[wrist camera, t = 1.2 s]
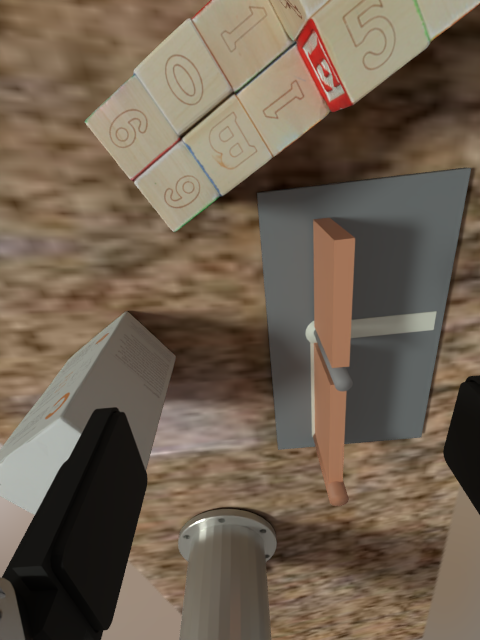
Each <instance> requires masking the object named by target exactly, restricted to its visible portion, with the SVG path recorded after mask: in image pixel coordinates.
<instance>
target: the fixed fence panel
mask: <svg viewBox="0 0 480 640" xmlns="http://www.w3.org/2000/svg"><path fill="white" fill-rule="evenodd" d="M314 397H315V434H314V435H313V439H314V443H315V447H316V451H317V454H318V458H319V462H320V466H321V470H322V474H323V477H324V481H325V485H326V489H327V493H328V496H329V500H330V503H331V504H332V505H334V506H342V505H344V504H346V503H347V502H348V500H349V498H348V495H347V492H346V489H345V486H344V482H343V460H344V437H345V413H346V391H343V392H342V391H338V390H337V389H336V388H335V385H334V383H333V380H332V378H331V375H330V373H329V370H328V368H327V365H326V363H325V360H324V358H323V356H322V353H321V351H320V348H319V346H318V343H314Z"/></svg>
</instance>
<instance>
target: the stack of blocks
mask: <svg viewBox="0 0 480 640" xmlns="http://www.w3.org/2000/svg"><path fill="white" fill-rule="evenodd" d="M479 4H480V0H210V1H209V2H208V3H207V4H206V5H205V6H204V7H203V8H202V9H201V10H200V11H199V12H198V13H197V14H196V15H195V16H194V17H193V18H192V19H187V20H186V21H184V22H183V23H182V24H181V25H180V26H179V27H178V28H177V29H176V30H175V31H174V32H173V33H172V34H170V35H169V36H168V37H167V38H166V39H165V40H164V41H163V42H162V43H161V44H160V45H159V46H158V47H157V48H156V49H155V50H154V51H153V52H152V53H151V54H149V55H148V56H147V57H146V58H145V59H144V60H143V61H142V62H141V63H140V64H139V65H138V66H137V67H136V68H135V69H134V75H133V76H132V77H131V78H130V79H128V80H127V81H126V82H125V83H124V84H123V85H122V86H121V87H120V88H119V89H118V90H117V91H115V92H114V93H113V94H112V95H111V96H110V97H109V98H108V99H107V100H106V101H105V102H104V103H103V104H102V105H101V106H100V107H99V108H98V109H96V110H95V111H94V112H93V113H92V114H91V115H90V116H89V117H88V118H87V119H86V121H85V123H86V124H87V126H88V127H89V128H90V130H91V131H92V132H93V133H94V135H95V136H96V137H97V138H98V140H99V141H100V142H101V143H102V145H103V146H104V147H105V148H106V150H107V151H108V152H109V153H110V155H111V156H112V157H113V158H114V160H115V161H116V162H117V164H118V165H119V166H120V167H121V169H122V170H123V171H124V172H125V174H126V175H127V176H128V178H129V179H131V180H132V181H134V183H135V184H136V186H137V187H138V188H139V190H140V191H141V192H142V194H143V195H144V196H145V197H146V199H147V200H148V201H149V203H150V204H151V205H152V206H153V208H154V209H155V210H156V211H157V212H158V213H159V215H160V216H161V218H162V219H163V220H164V221H165V222H166V224H167V225H168V226H169V228H170V229H171V230H172V231H173V232H176V231H177V230H179V229H180V228H181V227H183V226H184V225H185V224H186V223H188V222H189V221H190V220H192V219H193V218H194V217H195V216H197V215H198V214H199V213H201V212H202V211H203V210H205V209H206V208H207V207H208V206H210V205H211V204H212V203H213V202H214V201H216V200H217V199H218V198H219V197H221V196H224V195H225V194H226V193H228V192H229V191H231V190H232V189H233V188H234V187H236V186H237V185H238V184H240V183H241V182H242V181H243V180H245V179H246V178H247V177H249V176H250V175H251V174H252V173H254V172H255V171H256V170H258V169H259V168H260V167H262V166H263V165H264V164H266V163H267V162H268V161H269V160H270V159H272V158H273V157H274V156H276V155H277V154H279V153H280V152H282V151H283V150H284V149H285V148H287V147H288V146H289V145H291V144H292V143H293V142H295V141H296V140H297V139H298V138H300V137H301V136H302V135H303V134H304V133H306V132H307V131H308V130H310V129H311V128H312V127H313V126H315V125H316V124H317V123H318V122H320V121H321V120H322V119H323V118H325V117H326V116H327V115H328V113H329V112H331V111H332V112H336V111H338V110H340V109H344V108H346V107H349V106H352V105H354V104H355V103H356V102H358V101H359V100H360V99H362V98H363V97H364V96H365V95H367V94H368V93H369V92H371V91H372V90H373V89H374V88H376V87H377V86H378V85H380V84H381V83H382V82H384V81H385V80H386V79H387V78H389V77H390V76H391V75H393V74H394V73H395V72H396V71H398V70H399V69H400V68H401V67H403V66H404V65H405V64H406V63H408V62H409V61H410V60H412V59H413V58H414V57H416V56H417V55H418V54H420V53H421V52H422V51H423V50H425V49H426V48H427V47H428V46H429V44H430V43H431V41H432V40H434V39H435V38H436V37H438V36H439V35H440V34H442V33H443V32H444V31H446V30H447V29H448V28H449V27H451V26H452V25H453V24H455V23H456V22H457V21H459V20H460V19H461V18H463V17H464V16H465V15H467V14H468V13H469V12H470V11H472V10H473V9H474V8H476V7H477V6H478V5H479Z"/></svg>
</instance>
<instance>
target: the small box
mask: <svg viewBox="0 0 480 640" xmlns="http://www.w3.org/2000/svg"><path fill="white" fill-rule="evenodd" d="M175 360H176V356H175V355H174V354H173V353H172V352H171V351H170V350H169V349H168V348H167V347H165V346H164V345H163V344H162V343H161V342H160V341H159V340H158V339H157V338H156V337H155V336H154V335H153V334H151V333H150V332H149V331H148V330H147V329H146V328H145V327H144V326H143V325H142V324H141V323H140V322H139V321H138V320H136V319H135V318H134V317H133V316H132V315H131V314H130V313H129V312H127V311H126V312H125V313H123V314H122V315H121V316H120V317H118V318H117V319H116V320H115V321H113V322H112V323H111V324H110V325H109V326H107V327H106V328H105V329H104V330H103V331H101V332H100V333H99V334H98V335H97V336H95V337H94V338H93V339H92V340H91V341H89V342H88V343H87V344H86V345H85V346H83V347H82V348H81V349H80V350H79V351H78V352H76V353H75V354H74V355H73V356H72V357H71V358H70V359H69V360H68V361H67V363H66V364H65V365H64V367H63V368H62V369H61V371H60V372H59V373H58V375H57V376H56V377H55V379H54V380H53V381H52V383H51V384H50V386H49V387H48V388H47V390H46V391H45V392H44V394H43V395H42V396H41V397H40V399H39V400H38V401H37V403H36V404H35V405H34V406H33V408H32V409H31V410H30V411H29V413H28V414H27V415H26V417H25V418H24V419H23V420H22V422H21V423H20V424H19V426H18V427H17V428H16V430H15V431H14V432H13V433H12V435H11V436H10V437H9V439H8V440H7V441H6V443H5V444H4V445H3V447H2V448H1V449H0V496H1V497H3V498H5V499H6V500H8V501H10V502H12V503H14V504H16V505H17V506H19V507H21V508H23V509H24V510H27V511H28V512H30V513H32V514H34V515H35V514H36V512H37V510H38V508H39V506H40V505H41V503H42V501H43V499H44V497H45V495H46V493H47V491H48V490H49V488H50V486H51V484H52V482H53V480H54V478H55V476H56V474H57V473H58V471H59V469H60V467H61V466H62V464H63V463H64V462H65V461H67V460H68V459H69V457H70V455H71V453H72V451H73V449H74V447H75V445H76V443H77V442H78V440H79V438H80V436H81V434H82V432H83V430H84V428H85V426H86V424H87V422H88V420H89V418H90V416H91V415H92V413H93V411H94V410H95V409H101V408H112V407H117V408H118V409H119V411H120V412H124V413H125V414H126V417H127V419H128V422H129V425H130V428H131V431H132V433H133V436H134V439H135V442H136V445H137V447H138V450H139V453H140V456H141V459H142V462H143V464H144V467H145V470H146V469H147V465H148V461H149V457H150V454H151V450H152V446H153V442H154V439H155V435H156V431H157V427H158V423H159V420H160V416H161V412H162V408H163V405H164V401H165V397H166V394H167V389H168V386H169V382H170V379H171V374H172V371H173V367H174V363H175Z"/></svg>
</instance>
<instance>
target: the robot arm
mask: <svg viewBox="0 0 480 640" xmlns="http://www.w3.org/2000/svg"><path fill="white" fill-rule="evenodd" d="M443 452H444V458H445V461H446V463H447V465H448V466H449V468H450V469H451V471H452V472H453V474H454V475H455V477H456V479H457V480H458V482H459V483H460V485H461V486H462V488H463V490H464V491H465V493H466V494H467V496H468V497H469V499H470V500H471V502H472V504H473V505H474V507H475V508H476V510H477V511H478V513H479V514H480V375H479V376H470V377H468V378H467V379H466V381H465V382H463V383H462V384H461V385H460V388H459V392H458V396H457V400H456V404H455V408H454V412H453V415H452V419H451V423H450V427H449V431H448V435H447V439H446V442H445V446H444V451H443ZM146 487H147V473H146V470H145V467H144V464H143V462H142V459H141V456H140V453H139V450H138V447H137V445H136V442H135V439H134V436H133V433H132V431H131V428H130V425H129V422H128V419H127V417H126V414H125V413H124V412H120V411H119V409H118V408H117V407H112V408H101V409H95V410H94V411H93V413H92V415H91V416H90V418H89V420H88V422H87V424H86V426H85V428H84V430H83V432H82V434H81V436H80V438H79V440H78V442H77V443H76V445H75V447H74V449H73V451H72V453H71V455H70V457H69V459H68V460H67V461H65V462H64V463H63V464H62V466H61V467H60V469H59V471H58V473H57V474H56V476H55V478H54V480H53V482H52V484H51V486H50V488H49V490H48V491H47V493H46V495H45V497H44V499H43V501H42V503H41V505H40V506H39V508H38V510H37V512H36V514H35V516H34V518H33V520H32V522H31V523H30V525H29V527H28V529H27V531H26V533H25V535H24V537H23V539H22V540H21V542H20V544H19V546H18V548H17V550H16V552H15V554H14V556H13V557H12V559H11V561H10V563H9V565H8V567H7V569H6V571H5V573H4V575H3V576H2V578H0V640H101V637H102V633H103V630H107V629H108V628H109V627H110V625H111V623H112V620H113V616H114V612H115V608H116V604H117V600H118V597H119V592H120V589H121V585H122V580H123V577H124V573H125V569H126V565H127V561H128V557H129V554H130V550H131V546H132V542H133V538H134V534H135V530H136V526H137V522H138V518H139V514H140V511H141V507H142V503H143V499H144V495H145V491H146ZM276 545H277V541H276V533H275V531H274V529H273V527H272V526H271V525H270V523H269V522H267V521H266V520H265V519H263V518H262V517H260V516H258V515H256V514H254V513H251V512H248V511H243V510H238V509H218V510H212V511H208V512H205V513H201V514H199V515H197V516H195V517H193V518H192V519H190V520H189V521H188V522H187V523H186V524H185V525H184V526H183V527H182V529H181V531H180V534H179V540H178V548H179V551H180V553H181V554H182V556H183V557H184V558H185V559H186V560H187V561H188V569H187V577H186V586H185V595H184V604H183V612H182V621H181V630H180V639H179V640H271V628H270V614H269V600H268V586H267V572H266V562H267V561H268V560H269V559H270V558H271V557H272V556H273V554H274V553H275V550H276Z"/></svg>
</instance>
